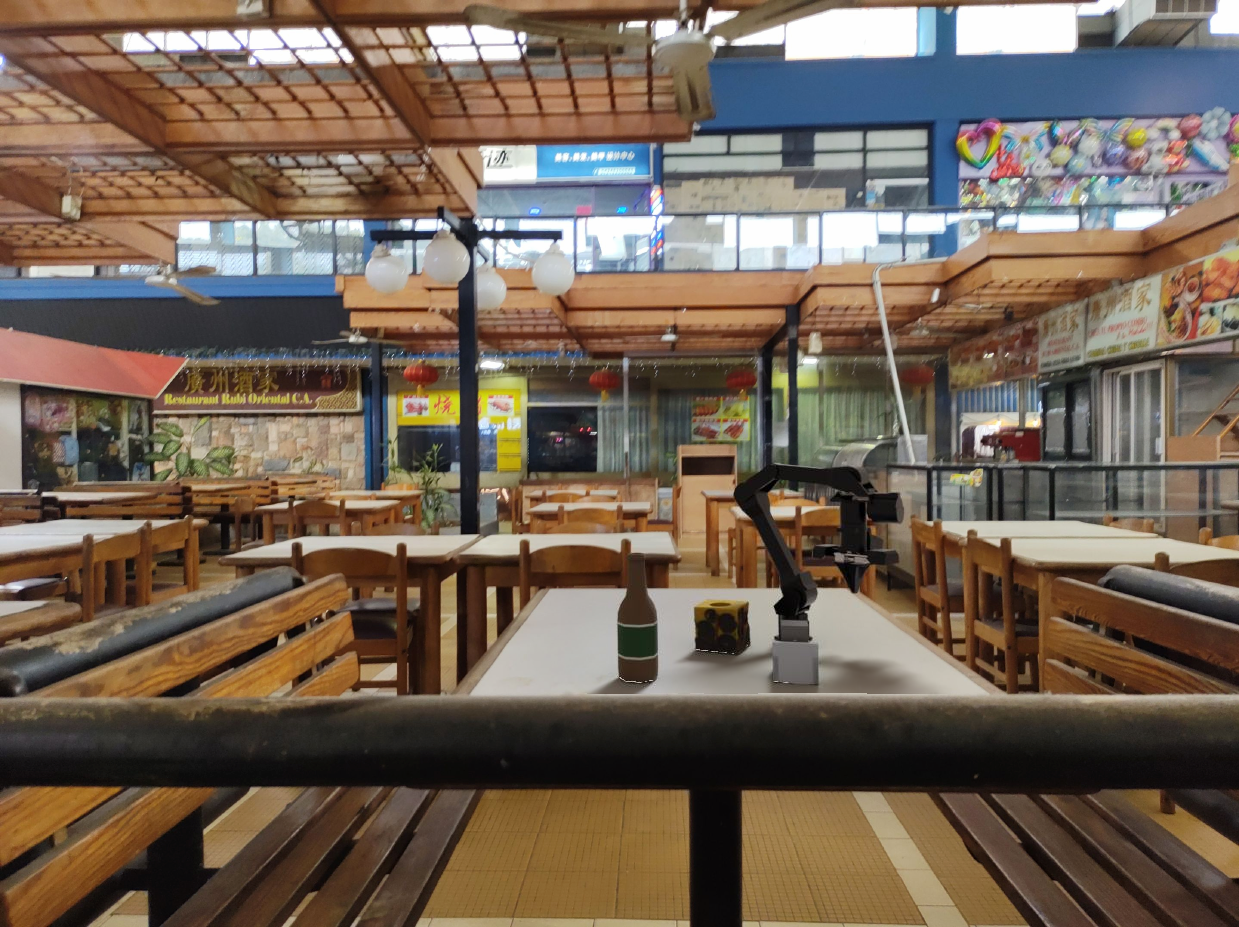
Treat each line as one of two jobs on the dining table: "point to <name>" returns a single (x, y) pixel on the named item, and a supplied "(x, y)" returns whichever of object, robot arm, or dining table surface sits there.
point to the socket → (795, 662)
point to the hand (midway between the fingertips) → (854, 593)
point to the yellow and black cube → (722, 626)
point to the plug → (794, 631)
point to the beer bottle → (637, 626)
